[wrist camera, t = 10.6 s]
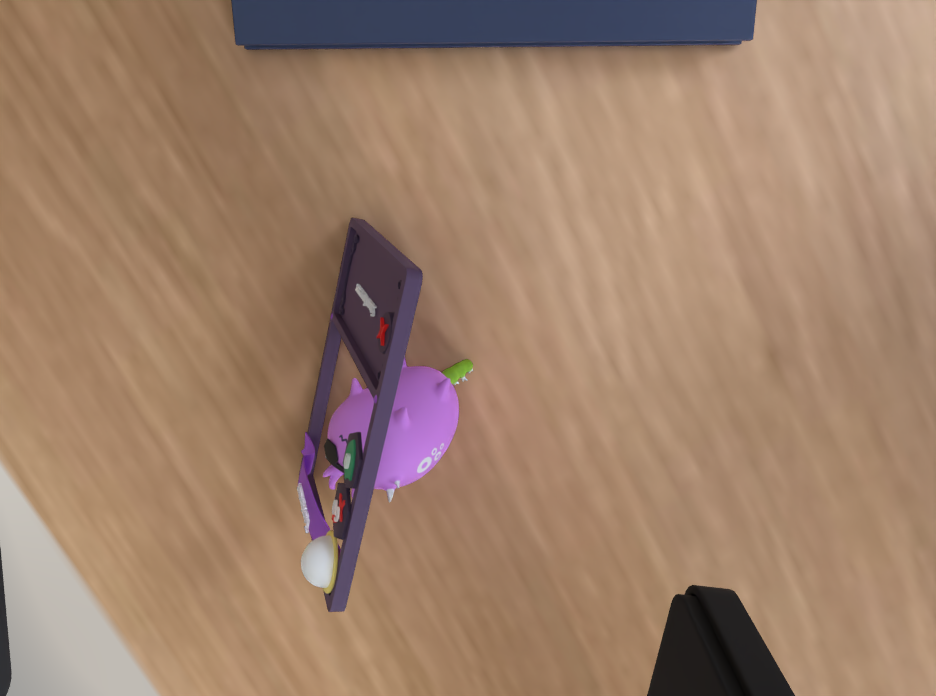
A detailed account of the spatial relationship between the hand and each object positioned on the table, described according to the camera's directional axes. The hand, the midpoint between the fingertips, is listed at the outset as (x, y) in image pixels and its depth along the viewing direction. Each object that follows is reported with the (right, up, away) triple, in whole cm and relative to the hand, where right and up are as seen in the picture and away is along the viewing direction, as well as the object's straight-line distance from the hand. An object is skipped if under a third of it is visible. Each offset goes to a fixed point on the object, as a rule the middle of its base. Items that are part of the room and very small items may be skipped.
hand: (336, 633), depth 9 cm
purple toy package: (-1, +3, +13) cm, 13 cm away
